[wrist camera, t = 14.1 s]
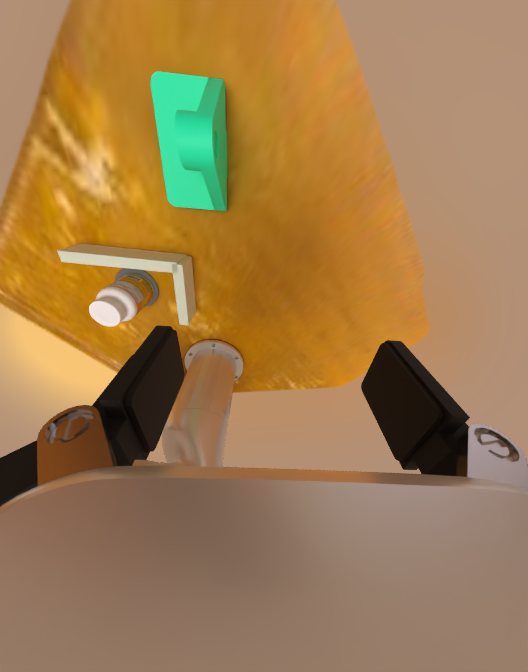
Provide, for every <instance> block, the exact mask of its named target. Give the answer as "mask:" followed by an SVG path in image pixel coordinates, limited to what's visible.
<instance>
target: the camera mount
mask: <svg viewBox="0 0 528 672" xmlns="http://www.w3.org/2000/svg"><path fill="white" fill-rule="evenodd" d="M151 90H152V97H153V104H154V111H155V118H156V125H157V131H158V138H159V145H160V152H161V159H162V166H163V173H164V179H165V186H166V193H167V199H168V201H169V202H170V204H172V205H173V206H175V207H185V208H196V209H207V210H219V211H227V179H228V167H227V131H226V99H225V83H224V80H223V79H218V78H210V77H201V76H193V75H184V74H176V73H167V72H155V73H154V74H153V75H152V77H151Z"/></svg>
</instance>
